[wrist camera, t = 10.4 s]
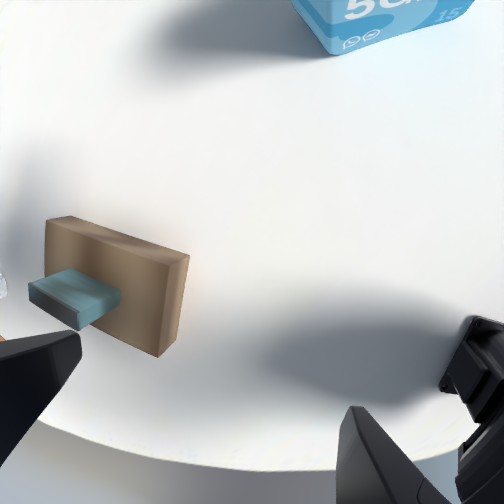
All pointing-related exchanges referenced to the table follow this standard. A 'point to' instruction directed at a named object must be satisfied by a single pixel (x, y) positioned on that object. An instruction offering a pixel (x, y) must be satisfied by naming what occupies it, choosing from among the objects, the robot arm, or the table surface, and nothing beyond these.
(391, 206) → the table surface
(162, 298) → the brown display base
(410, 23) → the data package
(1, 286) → the milkshake
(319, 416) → the table surface
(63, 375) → the robot arm
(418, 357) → the table surface
